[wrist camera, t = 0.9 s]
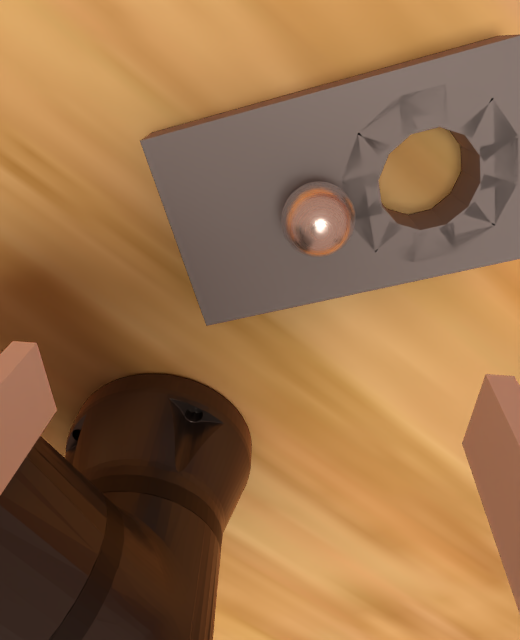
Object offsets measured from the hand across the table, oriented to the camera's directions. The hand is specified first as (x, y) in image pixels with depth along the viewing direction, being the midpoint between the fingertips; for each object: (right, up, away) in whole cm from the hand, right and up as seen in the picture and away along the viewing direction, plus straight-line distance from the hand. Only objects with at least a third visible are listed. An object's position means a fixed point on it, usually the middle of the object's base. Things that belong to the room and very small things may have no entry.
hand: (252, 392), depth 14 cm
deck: (+5, +10, +16) cm, 19 cm away
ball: (+3, +8, +11) cm, 14 cm away
